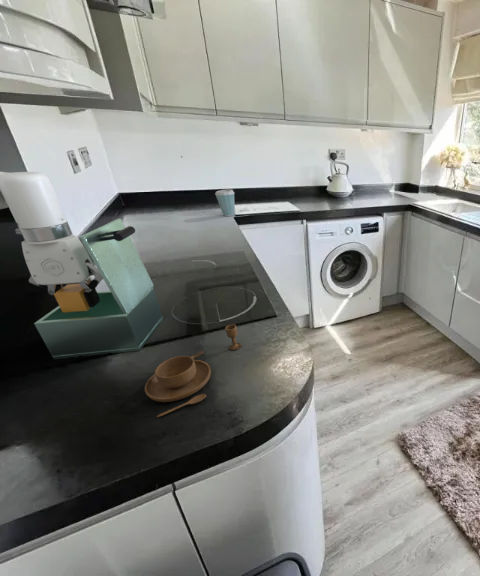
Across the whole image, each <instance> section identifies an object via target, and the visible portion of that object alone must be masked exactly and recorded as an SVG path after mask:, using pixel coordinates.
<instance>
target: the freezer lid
mask: <svg viewBox="0 0 480 576" xmlns="http://www.w3.org/2000/svg"><path fill="white" fill-rule="evenodd" d="M135 233H136V229H135V227H134V226H131V225H129V226H125V224H124V222H123V220H122V219H121V218H115V219H114V220H111V221H110V222H108V223H106V224H104V225H101V226H100V227H97V228H95V229H93V230H91V231H89V232H86V233H84V234H83V235H81V236H79V240H80V241H81V243H82V244H83V246H84V247H85V249H86V251H87V253H88V254H89V256H90V258H91V260H92V262H93V264H94V266H95V267H96V268H98V270H99V272H100V274H101V275H102V277H103V279H102V280H103V281H104V282H105V284H106V286H107V287H108V290H109V291H111V293H112V295H113V296H114V298H115V300H116V302H117V303H118V305H119V307H120V308H121V310H122V312H123V314H127V313H128V312H129V311H130V310H131V309H132V308H133V307H134V306H135V305H136V304H137V303H138V302H139V301H140V300H141V299H142V298H143V297H144V296H145V295H146V294H147V293H148V292H149V291H150V290H151V289H152V288H153V289H154V287H155V285H154V283H153V280H152V278H151V276H150V275H149V273H148V271H147V268H146V266H145V265H144V262H143V260H142V258H141V257H140V254H139V252H138V251H137V248H136V246H135V244H134V242H133V240H132V238H131V237H130V236H132V235H134V234H135Z"/></svg>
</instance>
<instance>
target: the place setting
mask: <svg viewBox="0 0 480 576" xmlns="http://www.w3.org/2000/svg"><path fill="white" fill-rule="evenodd" d="M225 333H226V336H227V337H228V338H229V339H230V340H231V344H230V345H229V346H228V349H229V351H238V350H239V349H241V348H242V344H241V343H240V342H237V339H236V337H237V336H238V327H237V325H236V324H234V323H233V324H228V325H227V326H225ZM202 355H204V352H203V350H201V351H199V352H197V353H196V354H193V355H191V356H189V355H178V356H174V357H170V358H168V359H166V360H165V361H163V362H161V363H160V364H158V365H157V367H156V368H155V370H154V373H153V374H152V375H151V376H150V377H149V379H148V380H147V381H146V383H145V385H144V392H145V395H146V396H147V398H149V399H150V400H152V401H154V402H157V403H172V402H173V403H174V402H178V401H181V400H183V399H186V398H189V397H191V396H192V395H194V394H197V392H199V391H200V390H201V389H203V388H204V387H205V386H206V384H207V383H208V382H209V380H210V378H211V374H212V370H211V367H210V365H209V363H208V362H206V361H204V360H201V359H197V358H199V357H200V356H202ZM206 397H207V394H206V393H201V394H198V395H195V396H193V397H192V398H191V399H190V400H188V401H186V402H185V403H182V404H180V405H177V406H175V407H173V408H171V409H168V410H166V411H164V412H162V413H160V414H158V415H156V418H161V417H162V416H165V415H167V414H169V413H171V412H174V411H176V410H178V409H180V408H182V407H184V406H188V405H194V404H195V405H196V404H198V403H200V402H202V401H203V400H204V399H206Z"/></svg>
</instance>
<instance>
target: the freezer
mask: <svg viewBox="0 0 480 576" xmlns="http://www.w3.org/2000/svg"><path fill="white" fill-rule="evenodd" d="M97 293H98V296H99V298H100V302H99V303H98V304H97V305H95V306H94V307H91V308H90V309H89V310H88V311H78V312H65V313H63V312H62V310H61V308H60V306H59V305H58V306H56V307H55V308H54V309H52V310H51V311H50V312H48V313H46V314H45V315H44V316H43V317H41V318H39V319H38V320H37V321H36V322H34V323H33V324H34V326H35V328H36V330H37V332H38V333H39V336H40V337H41V339H42V340H43V342H44V344H45V346H46V348H47V350H48V352H49V354H50V355H51V358H52V359H53V360H62V359H72V358H71V357H73V358H80V357H79V356H83V357H91V356H102V355H109V354H108V353H112V354H121V353H132V352H141V350H142V349H143V347H144V346H145V344H146V343H147V342H148V341H149V339H150V338H151V337H150V336H152V335H153V334H154V333H155V331H156V330H157V328H158V327H159V326H160V325H161V323H162V322H163V321H164V316H163V313H162V311H161V307H160V304H159V301H158V298H157V295H156V293H155V289H154V287H153V288H152V289H151V290H150V291H149V292H148V293H147V294H146V295H145V296H144V297H143V298H142V299H141V300H140V301H139V302H138V303H137V304H136V305H135V306H134V307H133V308H132V309H131V310H130V311H129V312H128V313H127V314H123V312H122V310H121V308H120V307H119V305H118V303H117V302H116V300H115V298H114V296H113V295H112V293H111V291H110V290H104V291H101V290H100V291H97ZM153 332H154V333H153ZM147 340H148V341H147Z"/></svg>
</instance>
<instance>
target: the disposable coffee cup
mask: <svg viewBox="0 0 480 576" xmlns="http://www.w3.org/2000/svg"><path fill="white" fill-rule="evenodd" d="M214 195H215V197H216V200H217V202H218V205H219V208H220V211H221V213H222V215H223V216H224V217H232V216H235V215H236V207H235V206H236V205H235V204H236V203H235V191H234V189H231V188H225V189H220V190H217V191H215V193H214Z"/></svg>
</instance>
